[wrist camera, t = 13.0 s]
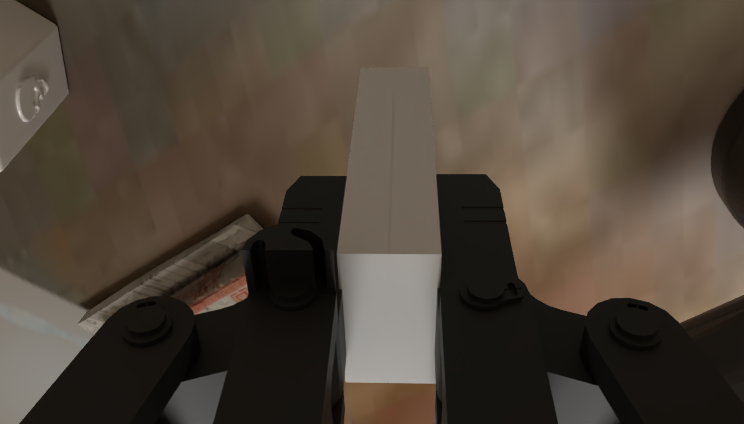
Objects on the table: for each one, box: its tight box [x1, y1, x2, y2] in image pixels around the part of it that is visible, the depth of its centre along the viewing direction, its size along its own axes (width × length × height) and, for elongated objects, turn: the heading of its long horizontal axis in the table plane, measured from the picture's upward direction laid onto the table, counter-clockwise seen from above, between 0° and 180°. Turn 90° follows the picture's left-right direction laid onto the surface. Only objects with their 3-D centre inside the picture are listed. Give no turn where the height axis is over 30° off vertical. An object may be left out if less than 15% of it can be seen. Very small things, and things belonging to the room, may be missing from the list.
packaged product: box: [78, 214, 263, 335], centre depth 53 cm, size 18×5×10 cm
